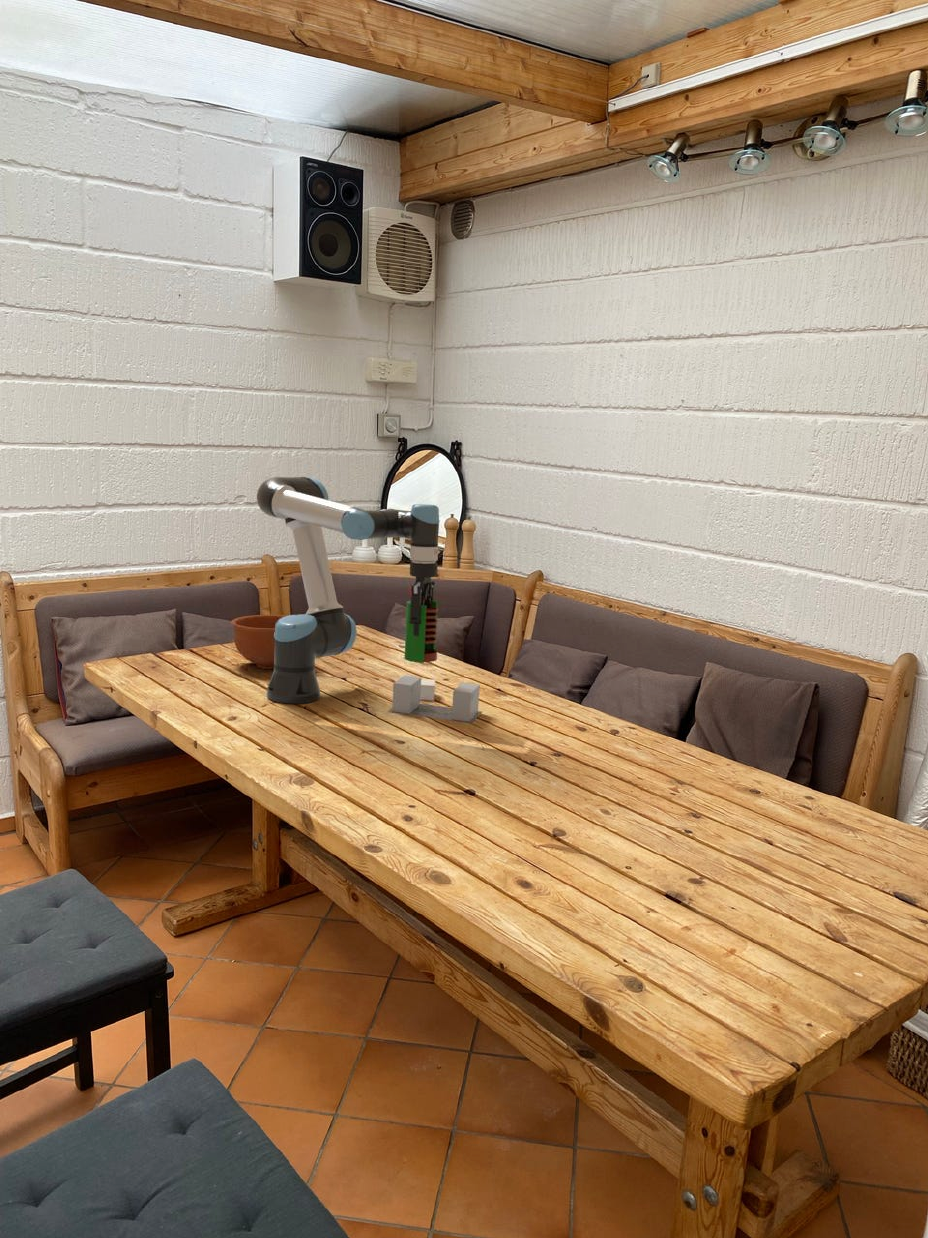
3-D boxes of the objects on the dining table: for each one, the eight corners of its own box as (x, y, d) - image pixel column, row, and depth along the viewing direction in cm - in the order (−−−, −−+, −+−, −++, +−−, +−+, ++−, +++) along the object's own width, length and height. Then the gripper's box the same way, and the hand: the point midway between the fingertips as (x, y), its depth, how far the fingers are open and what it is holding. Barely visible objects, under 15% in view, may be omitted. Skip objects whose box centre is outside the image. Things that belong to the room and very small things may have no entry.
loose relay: (416, 704, 277) (417, 684, 276) (417, 698, 284) (418, 678, 283) (433, 705, 277) (434, 685, 276) (434, 699, 284) (435, 679, 283)
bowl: (301, 677, 299) (302, 630, 296) (221, 672, 299) (222, 625, 296) (314, 660, 323) (315, 616, 320) (240, 655, 323) (241, 611, 320)
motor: (435, 663, 258) (437, 590, 254) (402, 662, 258) (404, 589, 255) (438, 655, 268) (440, 585, 264) (406, 654, 268) (408, 583, 265)
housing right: (451, 719, 259) (453, 690, 257) (460, 709, 268) (462, 682, 267) (469, 721, 258) (471, 692, 256) (478, 712, 267) (479, 684, 266)
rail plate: (387, 717, 262) (387, 711, 262) (400, 706, 274) (400, 701, 274) (471, 728, 257) (472, 723, 256) (481, 716, 268) (482, 711, 268)
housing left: (392, 711, 263) (393, 683, 261) (403, 702, 272) (404, 675, 271) (409, 713, 262) (411, 685, 260) (420, 704, 271) (421, 677, 270)
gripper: (425, 566, 248) (423, 652, 252) (447, 559, 267) (444, 640, 271) (398, 564, 250) (396, 650, 254) (421, 557, 269) (419, 637, 273)
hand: (421, 644), depth 262 cm, fingers closed on motor, 7 cm apart
